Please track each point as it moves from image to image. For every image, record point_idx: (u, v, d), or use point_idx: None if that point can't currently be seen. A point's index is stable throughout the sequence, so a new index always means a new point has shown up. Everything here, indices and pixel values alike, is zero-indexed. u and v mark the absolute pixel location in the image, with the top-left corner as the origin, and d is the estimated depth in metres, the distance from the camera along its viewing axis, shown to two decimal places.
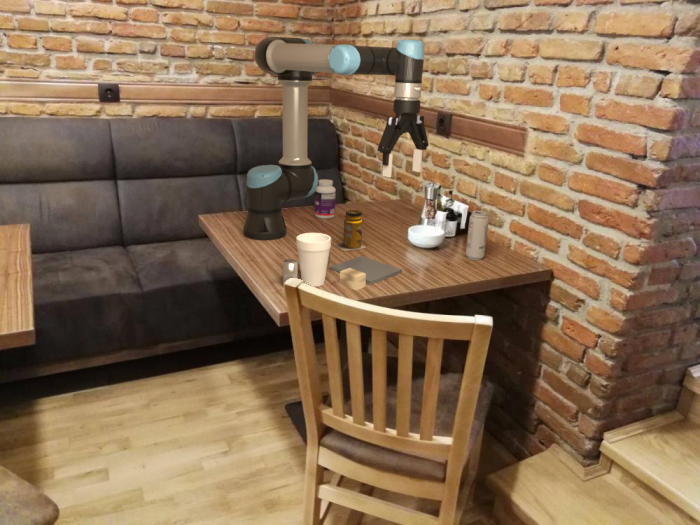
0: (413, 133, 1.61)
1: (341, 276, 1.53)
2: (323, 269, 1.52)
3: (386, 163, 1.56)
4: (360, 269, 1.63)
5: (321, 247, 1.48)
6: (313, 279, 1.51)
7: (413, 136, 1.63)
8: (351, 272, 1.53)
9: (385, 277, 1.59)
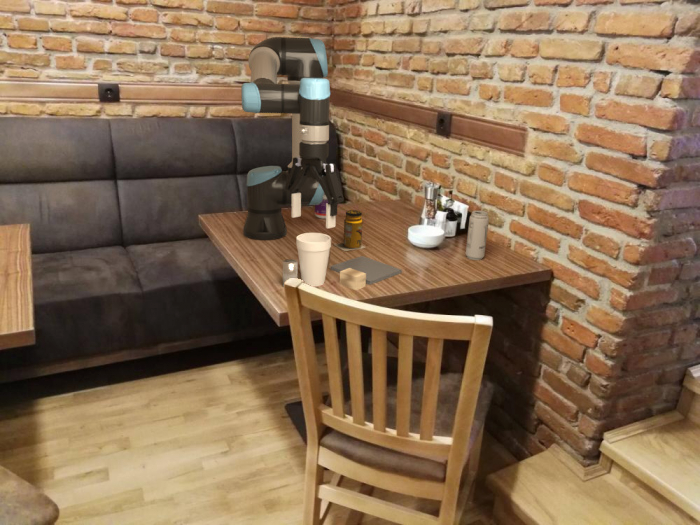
0: None
1: (341, 276, 1.53)
2: (323, 270, 1.52)
3: (291, 202, 1.52)
4: (360, 269, 1.63)
5: (321, 247, 1.48)
6: (313, 279, 1.51)
7: None
8: (351, 272, 1.53)
9: (385, 277, 1.59)
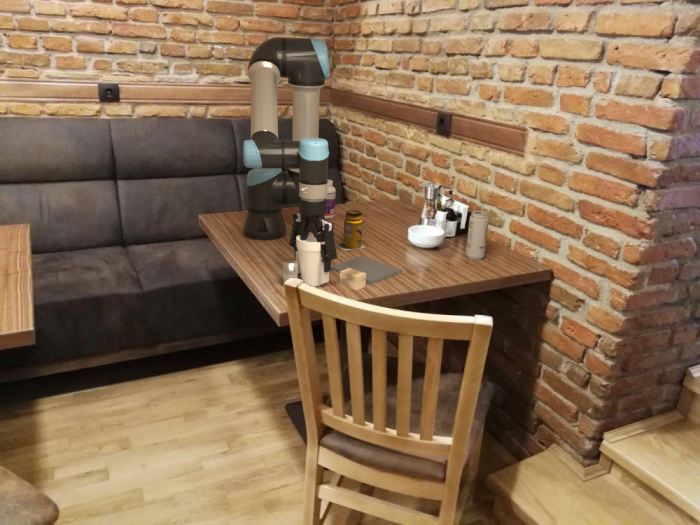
0: None
1: (341, 276, 1.53)
2: None
3: (295, 258, 1.57)
4: (360, 269, 1.63)
5: None
6: (313, 279, 1.51)
7: None
8: (351, 272, 1.52)
9: (385, 277, 1.59)
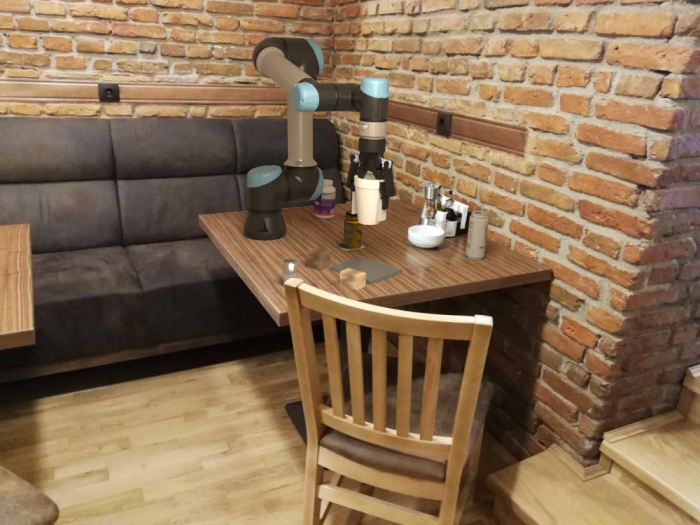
0: None
1: (341, 277, 1.53)
2: None
3: (351, 199, 1.61)
4: (360, 269, 1.63)
5: None
6: (370, 217, 1.56)
7: None
8: (351, 272, 1.52)
9: (385, 277, 1.59)
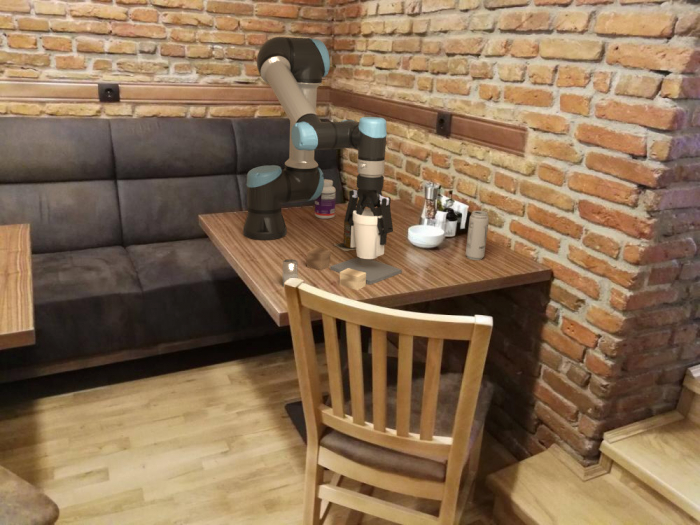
0: None
1: (341, 277, 1.53)
2: None
3: (350, 233, 1.65)
4: (360, 269, 1.63)
5: None
6: (369, 252, 1.59)
7: None
8: (351, 272, 1.52)
9: (385, 277, 1.59)
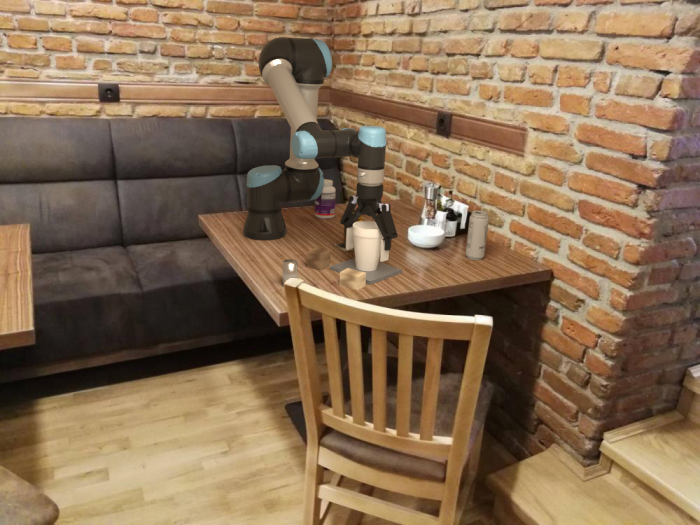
0: None
1: (341, 277, 1.53)
2: (377, 255, 1.61)
3: (345, 235, 1.66)
4: None
5: (377, 234, 1.57)
6: (368, 264, 1.61)
7: None
8: (352, 272, 1.52)
9: (385, 277, 1.59)
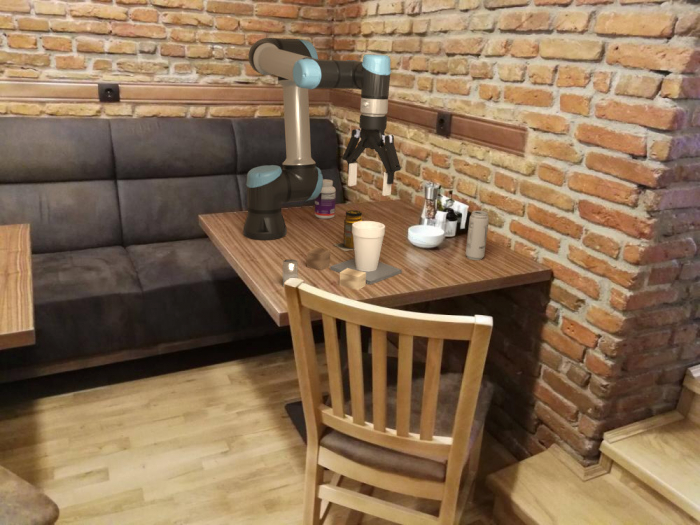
0: None
1: (341, 277, 1.53)
2: (377, 255, 1.61)
3: (348, 171, 1.64)
4: None
5: (377, 234, 1.57)
6: (368, 264, 1.61)
7: None
8: (352, 272, 1.52)
9: (385, 277, 1.59)
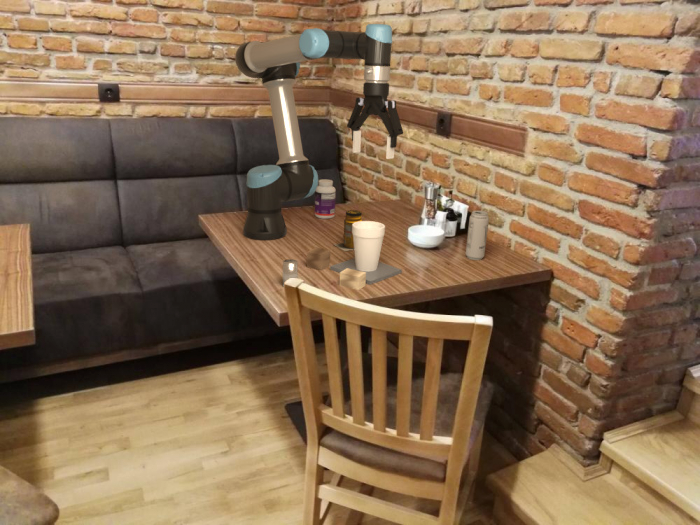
0: None
1: (341, 277, 1.53)
2: (377, 255, 1.61)
3: (352, 139, 1.72)
4: None
5: (377, 234, 1.57)
6: (368, 264, 1.61)
7: None
8: (352, 272, 1.52)
9: (385, 277, 1.59)
